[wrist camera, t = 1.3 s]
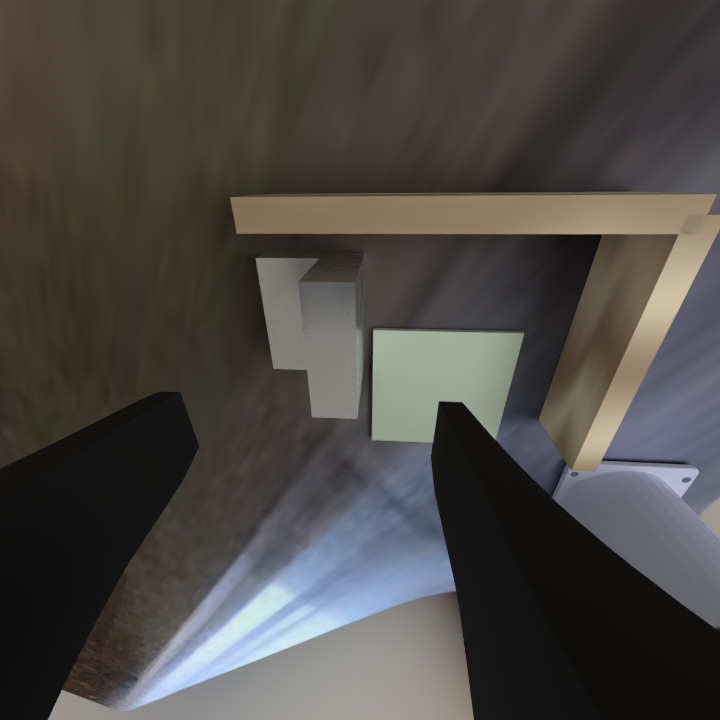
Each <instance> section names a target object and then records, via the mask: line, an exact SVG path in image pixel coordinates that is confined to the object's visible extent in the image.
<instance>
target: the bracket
mask: <svg viewBox="0 0 720 720" xmlns="http://www.w3.org/2000/svg"><path fill="white" fill-rule="evenodd" d="M256 264H257V270H258V276H259V282H260V288H261V295H262V301H263V307H264V313H265V319H266V325H267V331H268V337H269V343H270V349H271V356H272V362H273V368H274V369H296V370H307V373H308V382H309V392H310V402H311V411H312V417H323V418H348V419H357V417H358V409H359V401H360V392H361V384H362V376H363V368H364V360H365V253H313V252H265V253H263V254H262V255H260V256H258V257H256Z"/></svg>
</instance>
